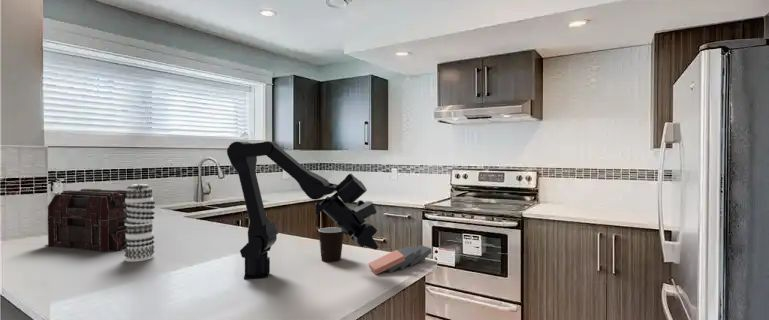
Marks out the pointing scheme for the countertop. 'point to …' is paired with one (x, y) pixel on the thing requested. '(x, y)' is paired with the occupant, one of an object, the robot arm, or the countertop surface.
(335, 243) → the coffee mug
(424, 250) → the domino
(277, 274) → the countertop surface
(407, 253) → the domino
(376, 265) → the domino
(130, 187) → the decorative candle
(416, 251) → the domino
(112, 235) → the crate
